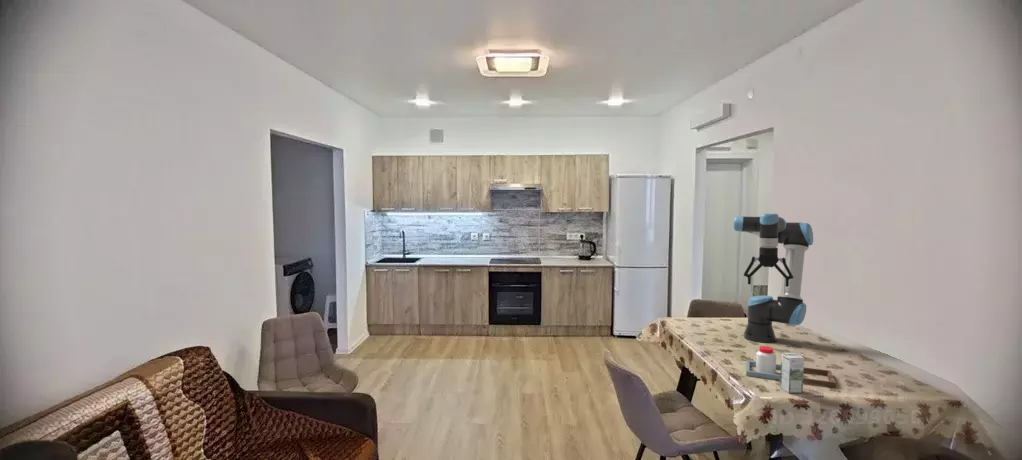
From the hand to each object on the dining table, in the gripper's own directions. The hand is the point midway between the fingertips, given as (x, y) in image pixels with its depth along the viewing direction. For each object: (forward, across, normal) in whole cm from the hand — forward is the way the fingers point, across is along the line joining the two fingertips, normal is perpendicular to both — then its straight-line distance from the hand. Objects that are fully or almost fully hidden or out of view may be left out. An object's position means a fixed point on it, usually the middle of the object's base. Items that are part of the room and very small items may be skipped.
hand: (767, 292), depth 224 cm
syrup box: (+33, +8, -35) cm, 49 cm away
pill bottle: (+33, -1, -17) cm, 37 cm away
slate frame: (+32, -1, -17) cm, 37 cm away
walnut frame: (+32, +16, -17) cm, 40 cm away
